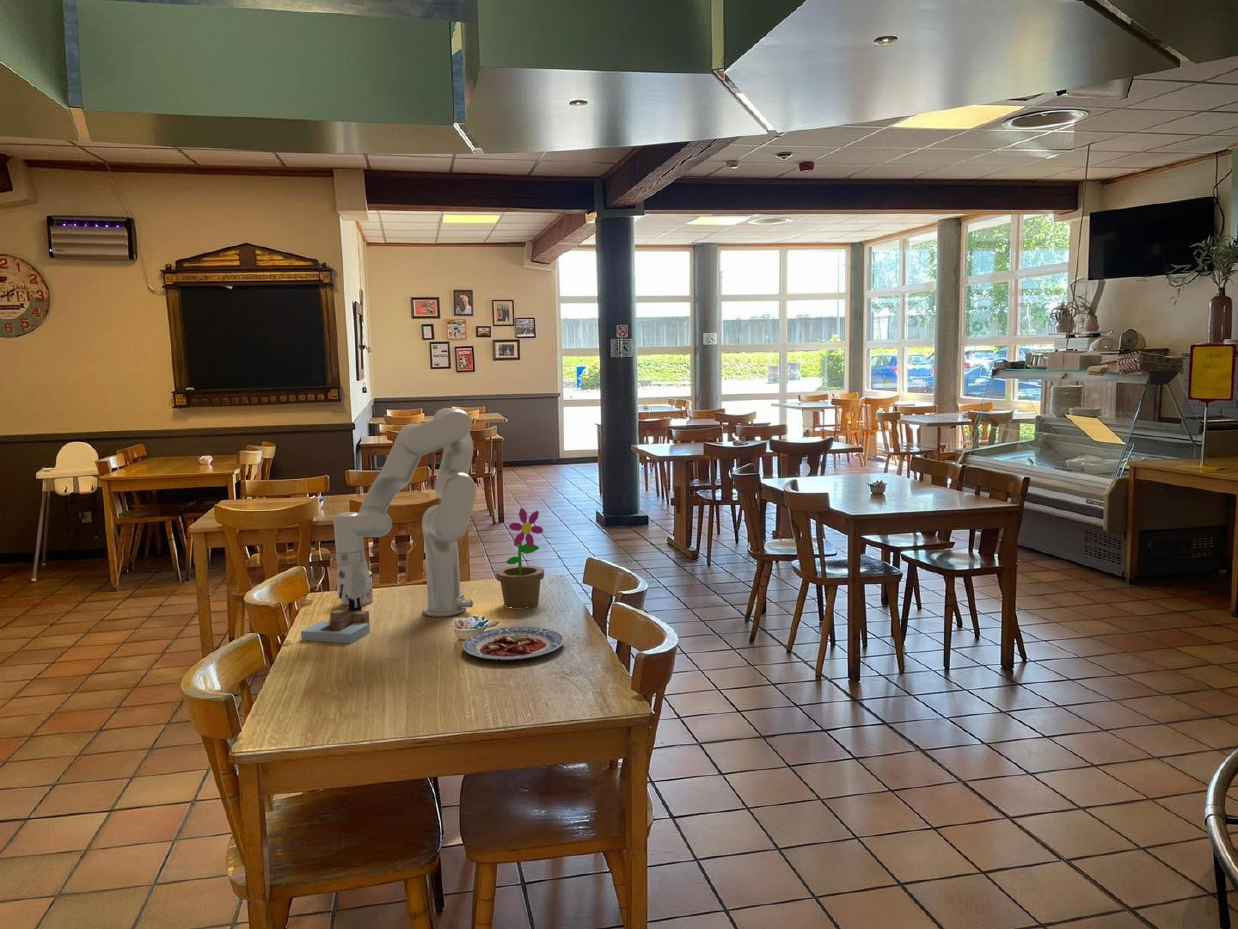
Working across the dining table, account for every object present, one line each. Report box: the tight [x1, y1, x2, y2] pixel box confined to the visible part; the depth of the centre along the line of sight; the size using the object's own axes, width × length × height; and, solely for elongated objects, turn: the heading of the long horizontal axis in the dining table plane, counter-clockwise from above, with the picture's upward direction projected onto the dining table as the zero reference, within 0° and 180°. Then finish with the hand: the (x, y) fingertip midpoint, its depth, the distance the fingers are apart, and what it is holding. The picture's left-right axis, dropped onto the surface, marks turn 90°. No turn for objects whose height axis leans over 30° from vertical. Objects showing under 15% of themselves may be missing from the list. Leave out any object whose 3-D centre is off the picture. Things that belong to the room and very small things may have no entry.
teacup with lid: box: [361, 570, 374, 606], centre depth 280 cm, size 12×9×12 cm
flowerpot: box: [495, 507, 545, 609], centre depth 271 cm, size 14×14×30 cm
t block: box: [329, 609, 371, 632], centre depth 248 cm, size 10×10×5 cm
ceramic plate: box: [462, 626, 565, 661], centre depth 231 cm, size 26×26×3 cm
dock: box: [300, 620, 371, 644], centre depth 245 cm, size 15×10×2 cm, turn 76°
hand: (355, 620), depth 255 cm, fingers closed
